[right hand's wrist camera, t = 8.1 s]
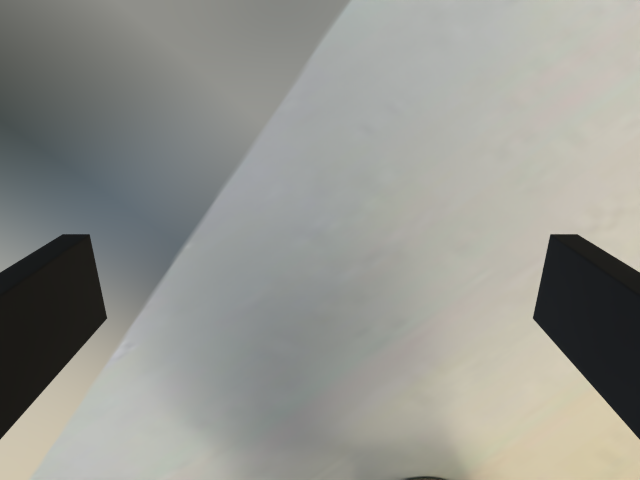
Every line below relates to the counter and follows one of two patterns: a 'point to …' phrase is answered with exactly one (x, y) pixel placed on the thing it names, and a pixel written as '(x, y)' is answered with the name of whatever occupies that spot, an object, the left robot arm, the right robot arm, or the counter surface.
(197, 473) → the counter surface
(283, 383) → the counter surface
